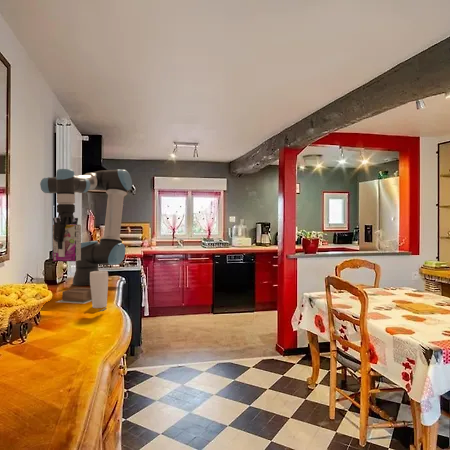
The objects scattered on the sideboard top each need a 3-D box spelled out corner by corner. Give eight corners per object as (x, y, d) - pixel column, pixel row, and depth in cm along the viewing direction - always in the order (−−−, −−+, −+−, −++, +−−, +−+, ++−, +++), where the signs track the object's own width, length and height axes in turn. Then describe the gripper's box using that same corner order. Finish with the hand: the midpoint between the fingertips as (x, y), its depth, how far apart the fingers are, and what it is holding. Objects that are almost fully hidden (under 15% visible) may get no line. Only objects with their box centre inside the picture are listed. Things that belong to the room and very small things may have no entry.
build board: (76, 298, 173) (76, 294, 173) (104, 299, 169) (104, 296, 169) (55, 305, 159) (55, 301, 159) (84, 307, 156) (84, 303, 156)
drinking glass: (89, 309, 152) (88, 271, 151) (107, 307, 155) (106, 270, 154) (91, 313, 146) (91, 273, 145) (110, 310, 149) (109, 272, 148)
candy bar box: (52, 261, 170) (51, 224, 170) (58, 260, 175) (58, 224, 175) (76, 261, 169) (75, 224, 169) (81, 260, 174) (81, 224, 174)
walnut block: (77, 296, 170) (77, 287, 170) (97, 297, 168) (97, 288, 168) (62, 301, 161) (62, 291, 161) (83, 302, 158) (83, 292, 158)
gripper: (72, 205, 182) (73, 254, 182) (43, 203, 164) (44, 257, 164) (86, 204, 180) (86, 254, 180) (58, 202, 162) (58, 258, 162)
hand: (66, 255), depth 172 cm, fingers closed on candy bar box, 5 cm apart
